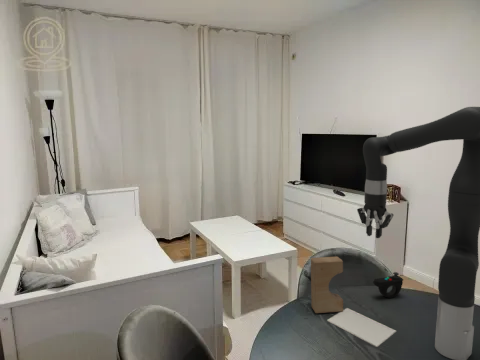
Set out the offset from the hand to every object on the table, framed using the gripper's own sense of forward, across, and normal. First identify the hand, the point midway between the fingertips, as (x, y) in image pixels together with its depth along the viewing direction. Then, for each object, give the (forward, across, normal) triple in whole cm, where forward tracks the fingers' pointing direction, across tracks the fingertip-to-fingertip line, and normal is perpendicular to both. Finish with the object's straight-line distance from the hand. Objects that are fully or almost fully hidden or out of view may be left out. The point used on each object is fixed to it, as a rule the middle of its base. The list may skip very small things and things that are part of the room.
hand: (373, 236), depth 128 cm
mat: (+29, -4, +14) cm, 32 cm away
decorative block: (+29, +10, +14) cm, 34 cm away
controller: (+29, 0, -13) cm, 32 cm away
